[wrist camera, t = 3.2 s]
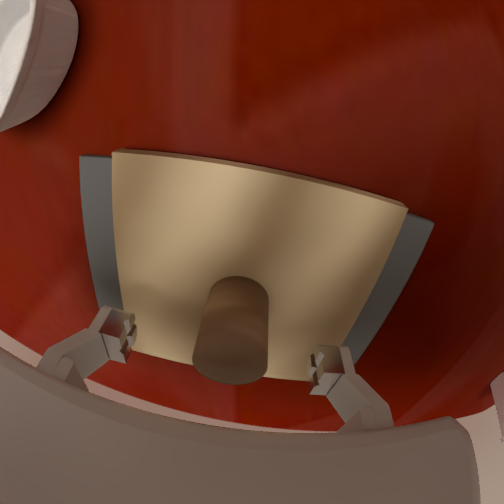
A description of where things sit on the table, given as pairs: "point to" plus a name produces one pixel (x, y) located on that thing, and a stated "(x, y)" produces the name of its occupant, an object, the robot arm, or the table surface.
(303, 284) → the lid
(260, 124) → the table surface
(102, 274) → the mat
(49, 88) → the ramekin
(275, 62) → the table surface
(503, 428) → the smoothie
